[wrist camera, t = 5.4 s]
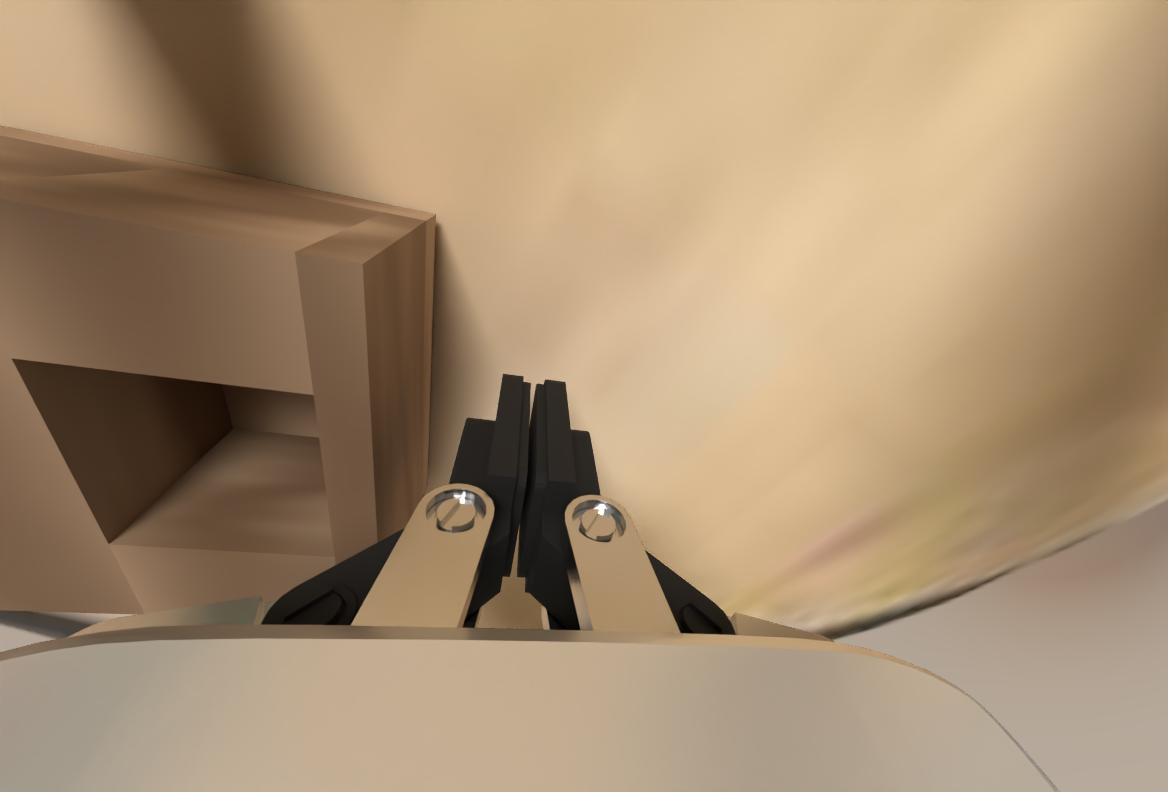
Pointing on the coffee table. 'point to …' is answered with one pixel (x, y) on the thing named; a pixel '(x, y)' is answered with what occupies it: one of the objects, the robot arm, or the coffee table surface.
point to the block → (199, 379)
